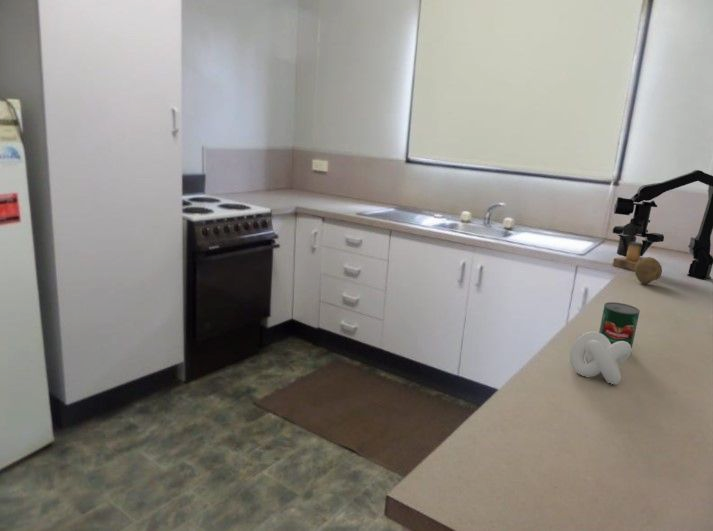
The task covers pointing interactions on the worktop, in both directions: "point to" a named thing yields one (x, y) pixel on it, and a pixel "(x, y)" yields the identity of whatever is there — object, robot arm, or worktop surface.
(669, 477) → the worktop surface
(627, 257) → the spice jar
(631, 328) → the canned tomato
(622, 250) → the supplement bottle
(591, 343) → the white knot sculpture
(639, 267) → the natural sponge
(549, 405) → the worktop surface
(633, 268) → the walnut plinth
